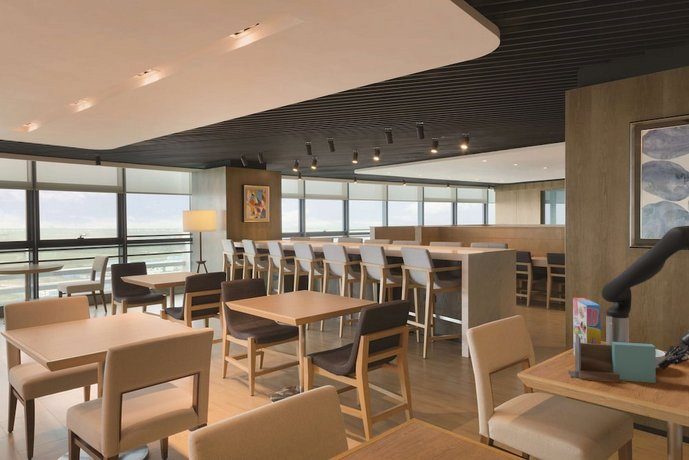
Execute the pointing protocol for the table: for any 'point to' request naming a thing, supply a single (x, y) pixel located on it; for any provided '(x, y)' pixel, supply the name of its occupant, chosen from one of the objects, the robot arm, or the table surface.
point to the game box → (586, 321)
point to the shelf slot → (596, 362)
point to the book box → (634, 361)
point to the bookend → (577, 358)
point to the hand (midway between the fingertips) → (660, 367)
